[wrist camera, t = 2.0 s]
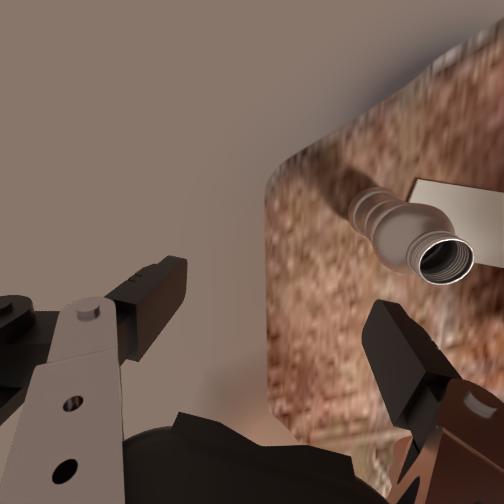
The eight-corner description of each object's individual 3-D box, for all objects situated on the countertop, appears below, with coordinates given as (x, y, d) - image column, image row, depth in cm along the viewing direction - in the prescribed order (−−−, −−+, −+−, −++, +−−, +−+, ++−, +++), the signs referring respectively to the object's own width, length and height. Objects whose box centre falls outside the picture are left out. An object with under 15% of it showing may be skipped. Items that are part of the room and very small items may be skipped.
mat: (570, 203, 31) (573, 203, 31) (525, 271, 35) (528, 272, 35) (417, 179, 33) (418, 179, 33) (390, 246, 37) (391, 247, 37)
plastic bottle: (400, 191, 34) (524, 229, 16) (379, 235, 37) (465, 312, 18) (355, 179, 34) (423, 204, 16) (338, 224, 37) (380, 289, 19)
